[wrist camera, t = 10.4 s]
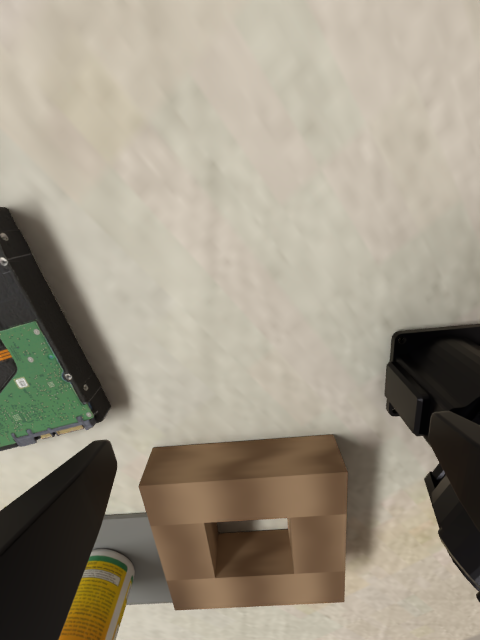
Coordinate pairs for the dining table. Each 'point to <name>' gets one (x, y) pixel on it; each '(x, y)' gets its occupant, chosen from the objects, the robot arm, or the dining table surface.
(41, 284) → the disk drive
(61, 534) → the robot arm
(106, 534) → the rubber mat
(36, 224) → the dining table surface
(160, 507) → the socket block
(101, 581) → the supplement bottle
